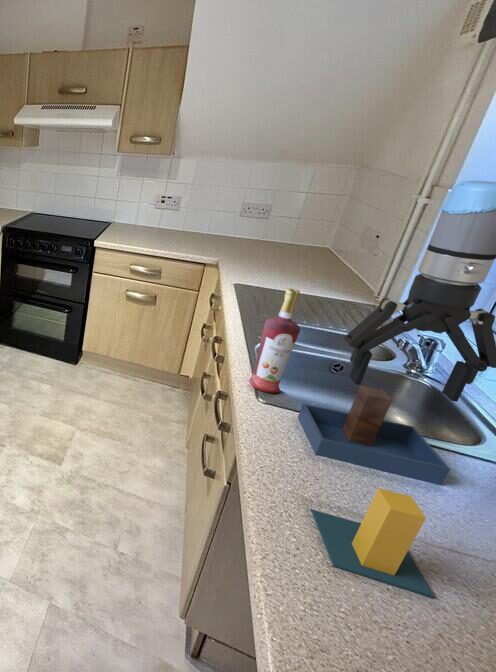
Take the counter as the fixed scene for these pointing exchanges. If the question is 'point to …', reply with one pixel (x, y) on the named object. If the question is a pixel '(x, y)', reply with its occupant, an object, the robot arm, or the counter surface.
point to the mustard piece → (387, 531)
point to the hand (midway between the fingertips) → (400, 388)
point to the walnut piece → (366, 415)
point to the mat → (344, 557)
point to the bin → (373, 446)
